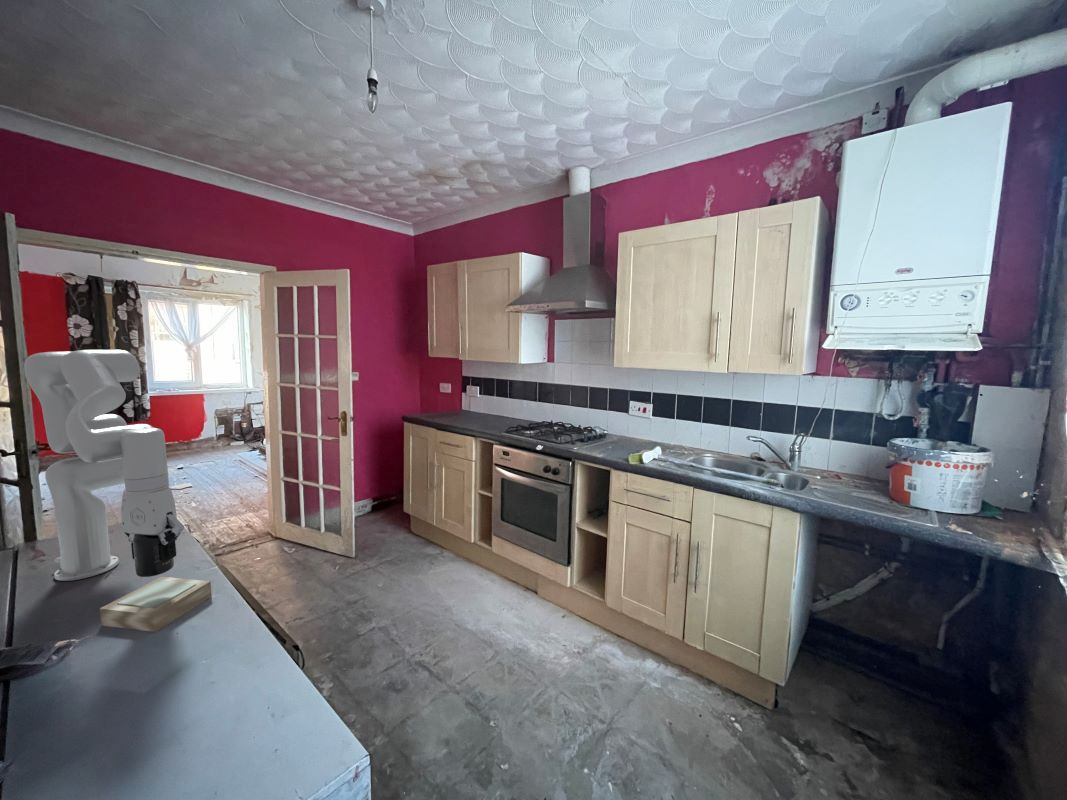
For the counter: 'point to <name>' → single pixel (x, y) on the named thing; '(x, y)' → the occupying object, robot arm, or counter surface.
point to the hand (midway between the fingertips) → (154, 557)
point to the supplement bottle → (149, 556)
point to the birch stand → (155, 604)
